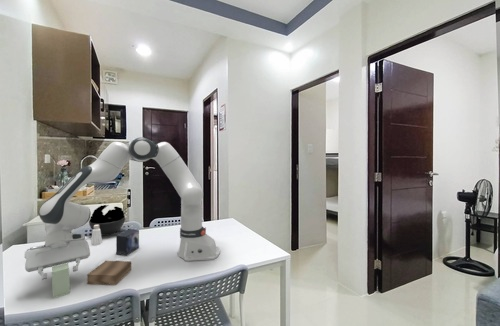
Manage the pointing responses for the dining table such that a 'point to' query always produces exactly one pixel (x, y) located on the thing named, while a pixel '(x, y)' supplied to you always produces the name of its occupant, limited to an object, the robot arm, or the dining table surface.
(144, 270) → the dining table surface
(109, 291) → the dining table surface
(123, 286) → the dining table surface
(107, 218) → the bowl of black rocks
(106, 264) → the walnut plinth
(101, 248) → the dining table surface
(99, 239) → the pepper shaker
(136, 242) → the small box
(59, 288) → the sage block
